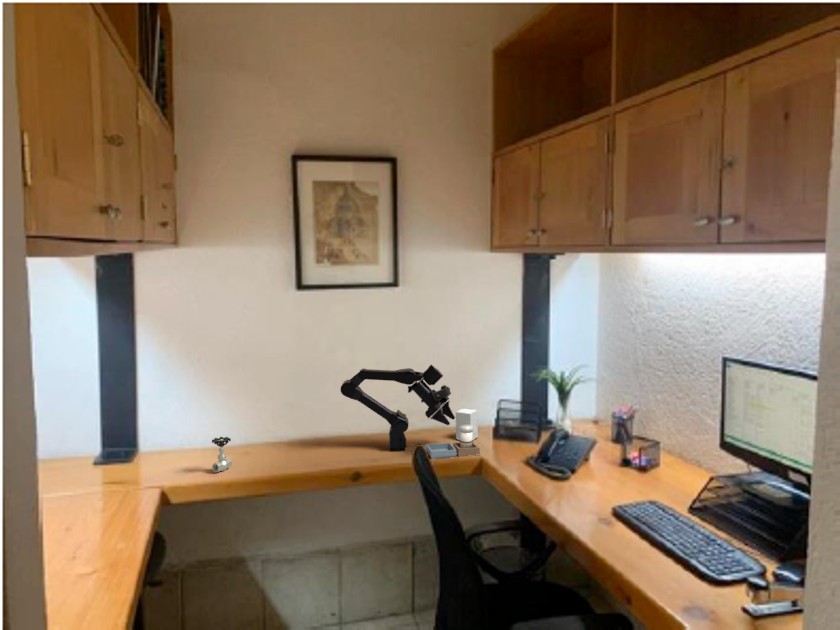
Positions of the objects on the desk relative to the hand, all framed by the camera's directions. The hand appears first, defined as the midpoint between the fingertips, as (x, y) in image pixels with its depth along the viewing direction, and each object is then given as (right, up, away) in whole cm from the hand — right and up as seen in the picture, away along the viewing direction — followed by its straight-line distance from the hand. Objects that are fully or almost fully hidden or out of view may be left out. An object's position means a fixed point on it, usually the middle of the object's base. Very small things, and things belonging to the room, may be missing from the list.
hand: (451, 421), depth 258 cm
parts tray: (-4, -13, -3) cm, 14 cm away
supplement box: (+7, -11, +18) cm, 22 cm away
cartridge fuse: (+6, -12, -1) cm, 14 cm away
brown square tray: (+6, -12, -1) cm, 14 cm away
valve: (-86, -15, -21) cm, 90 cm away
